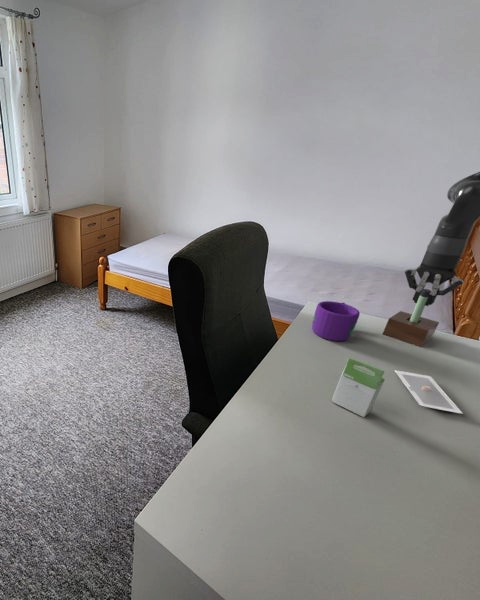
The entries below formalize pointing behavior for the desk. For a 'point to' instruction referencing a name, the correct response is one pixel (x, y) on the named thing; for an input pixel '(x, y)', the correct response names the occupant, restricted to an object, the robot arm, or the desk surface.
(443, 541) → the desk surface
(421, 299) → the marker
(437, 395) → the touchpad
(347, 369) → the ink box
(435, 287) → the robot arm
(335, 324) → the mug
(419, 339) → the pen stand
